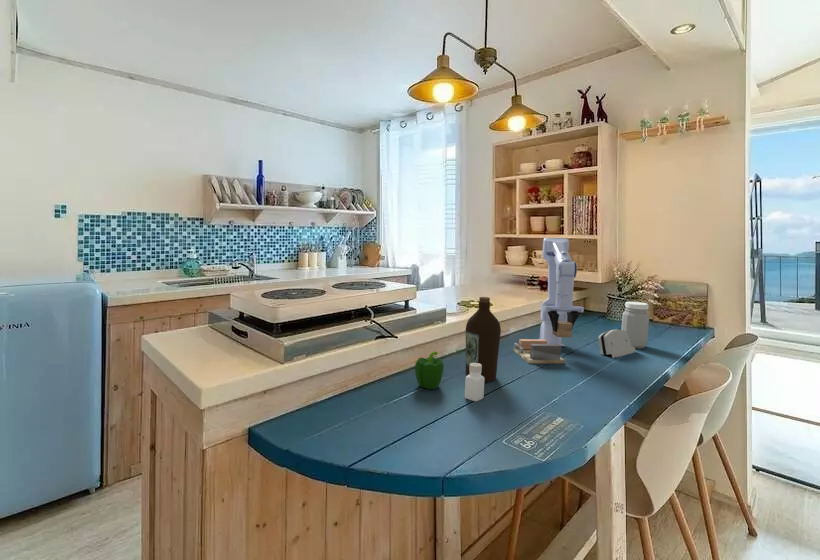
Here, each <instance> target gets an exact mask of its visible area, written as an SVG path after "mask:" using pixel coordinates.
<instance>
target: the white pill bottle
mask: <svg viewBox="0 0 820 560" xmlns="http://www.w3.org/2000/svg"><path fill="white" fill-rule="evenodd" d="M469 368H470V369H469V371H470V374H469V375H467V376H466V375H465V380H464V381H465V383H464V398H465V399H467V400H470V401H472V402H479V401H480V400H483V398H484V395H485V382H484V379H485V378H484V377H483V376H481V371H482V370H481V369H482V365H481V364H479V363H470V367H469Z"/></svg>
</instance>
